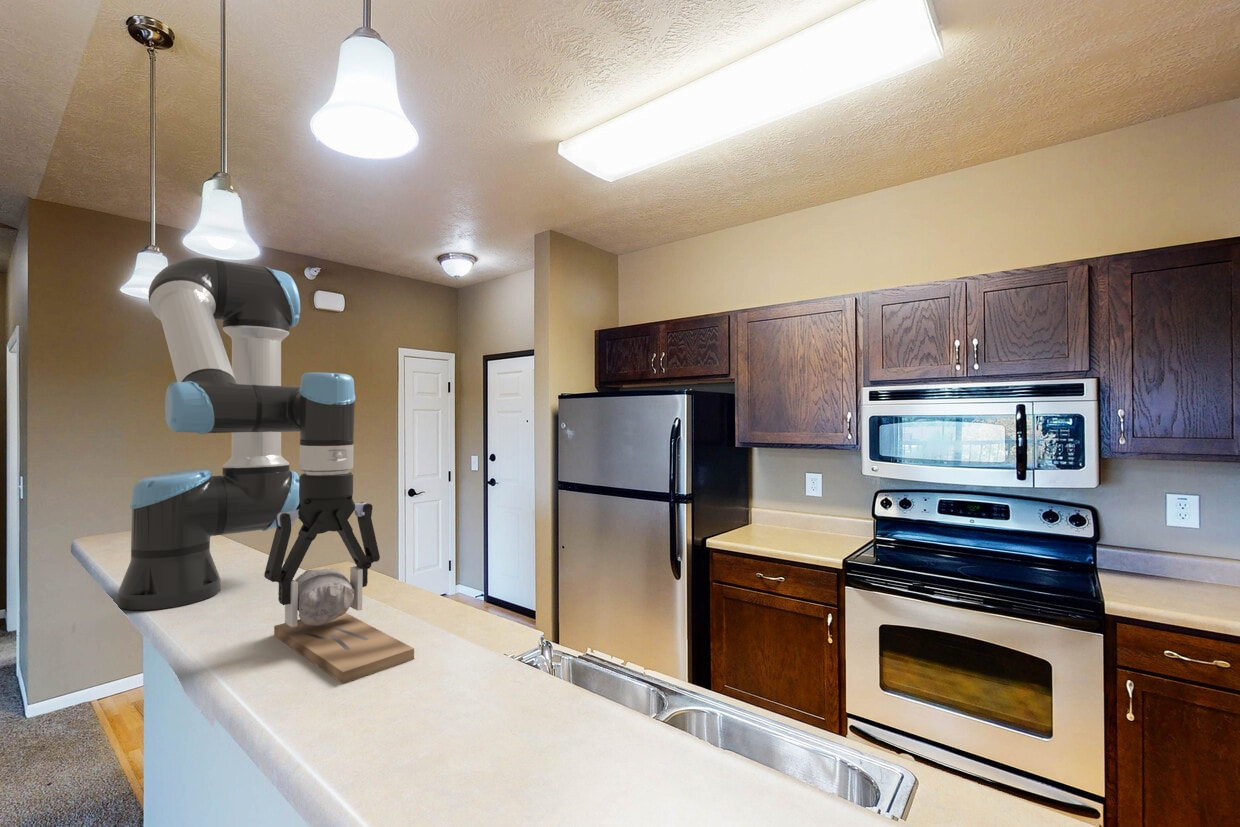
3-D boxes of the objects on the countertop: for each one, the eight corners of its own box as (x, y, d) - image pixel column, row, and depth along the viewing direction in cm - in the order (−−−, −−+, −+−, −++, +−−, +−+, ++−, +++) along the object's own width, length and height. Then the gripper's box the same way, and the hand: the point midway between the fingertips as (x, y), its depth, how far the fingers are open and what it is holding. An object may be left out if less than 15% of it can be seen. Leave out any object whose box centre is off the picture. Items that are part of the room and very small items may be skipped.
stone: (300, 635, 82) (301, 587, 82) (290, 610, 92) (291, 567, 92) (360, 624, 87) (361, 578, 87) (344, 601, 97) (345, 561, 97)
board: (274, 635, 90) (274, 625, 90) (339, 618, 97) (339, 609, 97) (342, 683, 74) (343, 671, 74) (414, 658, 82) (414, 648, 82)
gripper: (256, 479, 78) (254, 643, 79) (404, 469, 95) (402, 604, 95) (238, 475, 83) (236, 629, 83) (382, 465, 100) (380, 594, 100)
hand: (324, 615), depth 89 cm, fingers closed on stone, 9 cm apart
